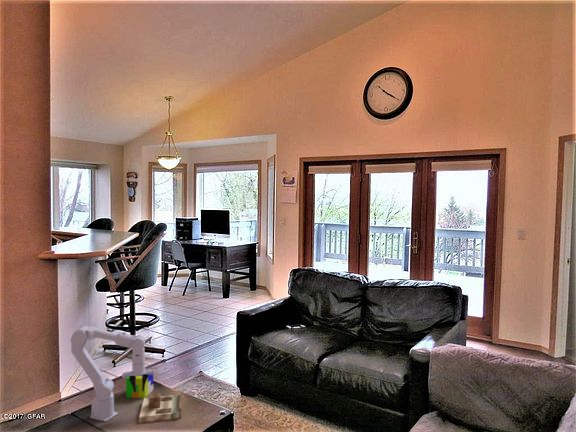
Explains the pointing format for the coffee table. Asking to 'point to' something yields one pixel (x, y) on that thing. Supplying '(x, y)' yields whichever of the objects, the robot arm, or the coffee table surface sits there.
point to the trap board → (162, 409)
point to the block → (154, 400)
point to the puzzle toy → (139, 387)
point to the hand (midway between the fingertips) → (139, 390)
